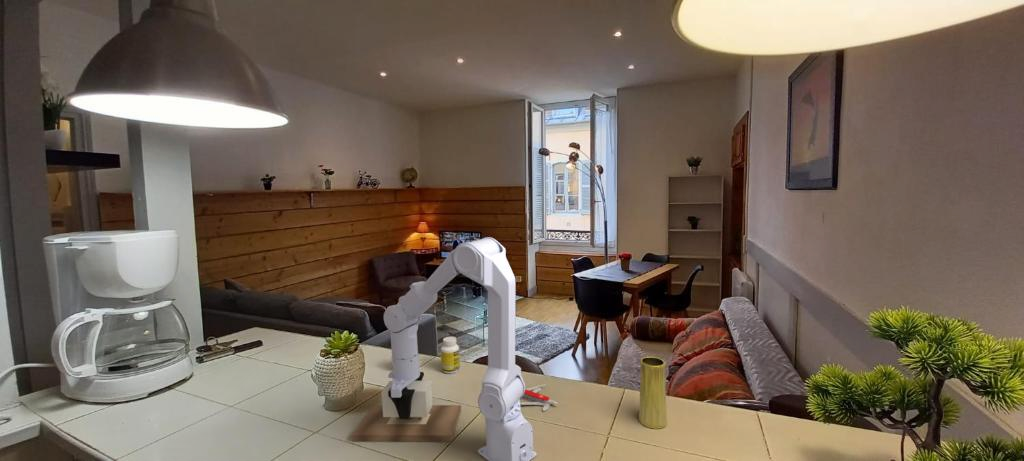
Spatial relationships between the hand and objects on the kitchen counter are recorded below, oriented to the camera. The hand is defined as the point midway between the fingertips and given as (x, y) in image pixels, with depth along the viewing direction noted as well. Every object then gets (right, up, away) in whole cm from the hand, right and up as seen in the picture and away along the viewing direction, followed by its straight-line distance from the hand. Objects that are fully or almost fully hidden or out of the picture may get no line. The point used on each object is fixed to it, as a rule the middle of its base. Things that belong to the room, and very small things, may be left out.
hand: (408, 411), depth 91 cm
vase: (+56, -2, -1) cm, 56 cm away
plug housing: (0, 0, 0) cm, 0 cm away
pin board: (0, -3, 0) cm, 3 cm away
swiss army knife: (+30, -2, +9) cm, 32 cm away
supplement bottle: (+5, -1, +28) cm, 29 cm away
